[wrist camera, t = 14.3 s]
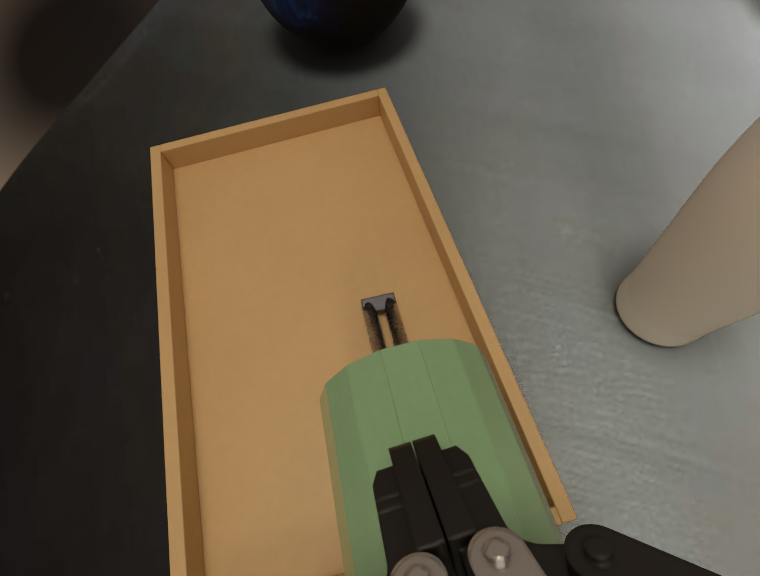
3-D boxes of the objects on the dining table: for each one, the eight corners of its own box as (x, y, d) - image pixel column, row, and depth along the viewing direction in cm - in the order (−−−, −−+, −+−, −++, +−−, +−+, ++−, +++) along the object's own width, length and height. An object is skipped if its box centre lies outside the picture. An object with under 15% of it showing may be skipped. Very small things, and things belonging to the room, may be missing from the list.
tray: (200, 638, 21) (173, 657, 19) (167, 170, 35) (149, 147, 33) (560, 516, 22) (578, 519, 20) (386, 112, 37) (385, 86, 34)
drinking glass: (737, 330, 26) (1084, 158, 13) (651, 380, 25) (929, 250, 12) (658, 249, 29) (873, 39, 15) (578, 291, 28) (734, 105, 14)
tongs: (462, 731, 15) (355, 266, 19) (430, 607, 24) (360, 301, 28) (522, 713, 15) (403, 256, 19) (469, 596, 24) (393, 294, 28)
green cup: (364, 890, 9) (301, 368, 17) (392, 763, 16) (338, 430, 23) (707, 781, 10) (494, 320, 17) (595, 701, 16) (476, 393, 24)
